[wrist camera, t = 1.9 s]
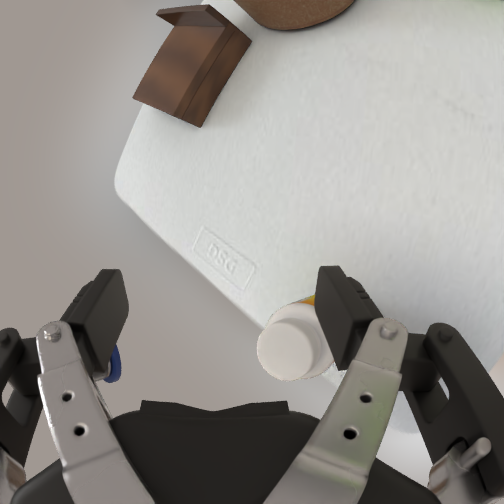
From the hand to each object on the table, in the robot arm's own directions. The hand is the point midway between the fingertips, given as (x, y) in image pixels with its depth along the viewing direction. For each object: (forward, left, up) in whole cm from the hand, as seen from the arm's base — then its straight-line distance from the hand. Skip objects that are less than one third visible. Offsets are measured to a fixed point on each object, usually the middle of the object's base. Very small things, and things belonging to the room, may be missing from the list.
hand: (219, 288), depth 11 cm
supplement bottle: (-4, -3, -17) cm, 18 cm away
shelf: (+12, +29, -17) cm, 36 cm away
